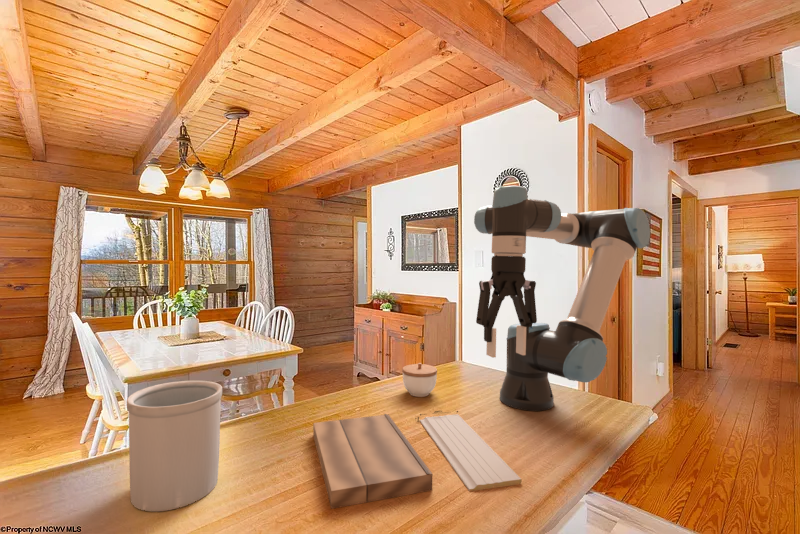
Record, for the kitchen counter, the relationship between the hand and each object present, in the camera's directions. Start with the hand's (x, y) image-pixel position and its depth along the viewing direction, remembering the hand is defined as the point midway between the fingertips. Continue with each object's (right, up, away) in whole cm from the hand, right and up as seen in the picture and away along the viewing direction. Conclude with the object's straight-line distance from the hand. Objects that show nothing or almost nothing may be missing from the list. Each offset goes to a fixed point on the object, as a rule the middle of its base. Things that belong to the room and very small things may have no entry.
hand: (506, 354), depth 91 cm
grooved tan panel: (-32, -20, -9) cm, 38 cm away
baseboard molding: (-11, -21, -3) cm, 24 cm away
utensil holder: (-65, -20, -20) cm, 71 cm away
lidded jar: (-18, -19, +31) cm, 41 cm away
